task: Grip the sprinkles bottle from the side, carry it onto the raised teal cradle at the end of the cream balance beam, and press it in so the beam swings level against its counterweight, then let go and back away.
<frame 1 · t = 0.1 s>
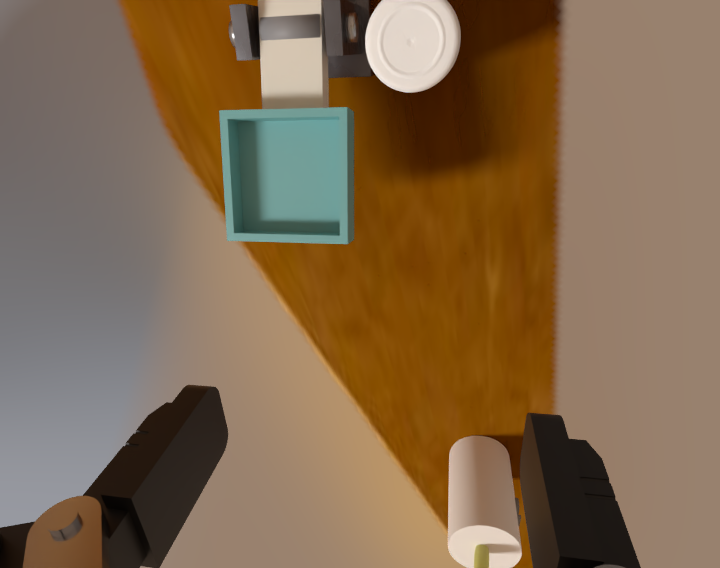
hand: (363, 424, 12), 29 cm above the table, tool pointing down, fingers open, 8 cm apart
sprinkles bottle: (427, 43, 34), on the table
beam: (283, 21, 28), point 8 cm above the table, hinge at -14.0°
candle: (480, 456, 51), on the table
pivot stand: (318, 33, 35), on the table
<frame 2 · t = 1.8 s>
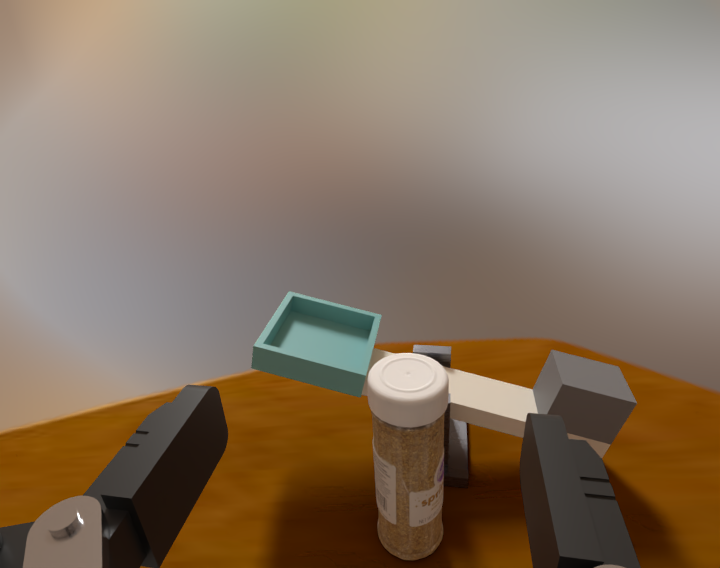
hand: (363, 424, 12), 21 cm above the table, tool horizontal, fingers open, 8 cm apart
sprinkles bottle: (409, 532, 32), on the table
beam: (436, 368, 35), point 8 cm above the table, hinge at -14.0°
pivot stand: (429, 444, 39), on the table
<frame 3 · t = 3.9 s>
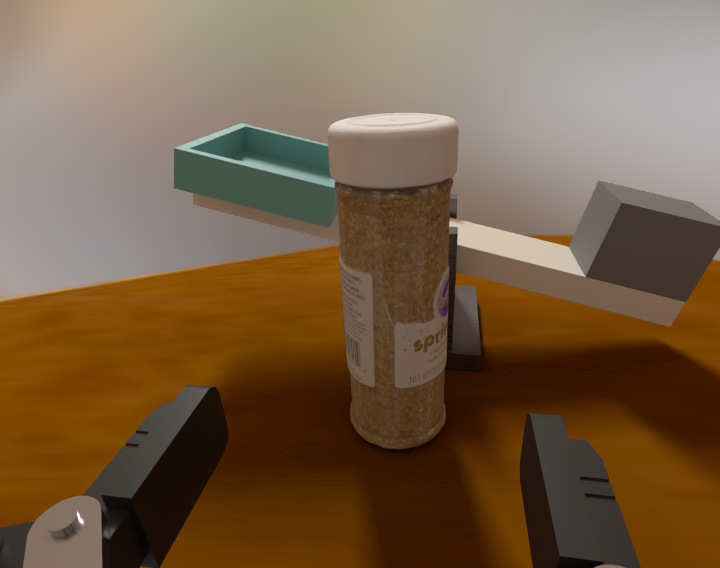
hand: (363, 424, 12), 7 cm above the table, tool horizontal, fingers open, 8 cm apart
sprinkles bottle: (397, 420, 22), on the table
beam: (438, 205, 25), point 8 cm above the table, hinge at -14.0°
pivot stand: (427, 328, 29), on the table
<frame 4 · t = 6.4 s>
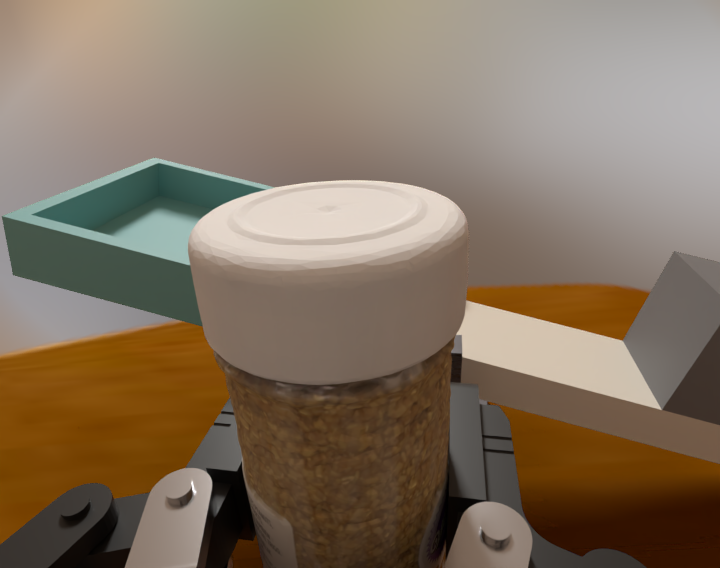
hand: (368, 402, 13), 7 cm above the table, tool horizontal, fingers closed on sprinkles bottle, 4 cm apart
beam: (431, 289, 17), point 8 cm above the table, hinge at -14.0°
pivot stand: (417, 448, 20), on the table
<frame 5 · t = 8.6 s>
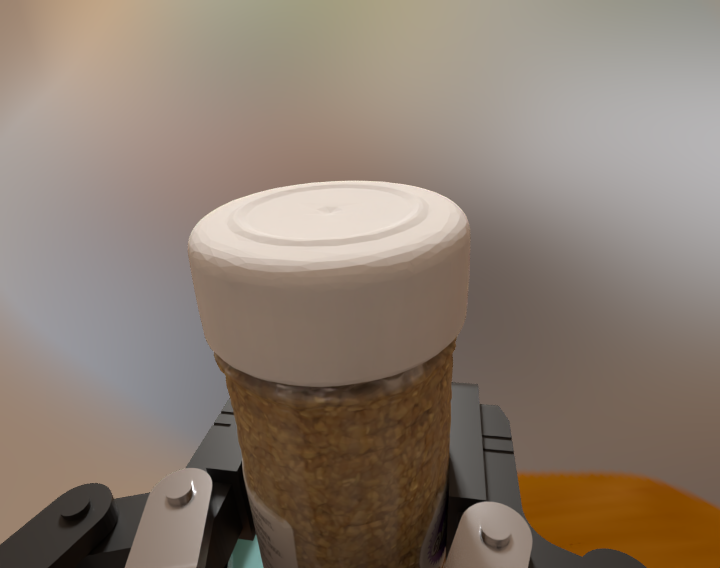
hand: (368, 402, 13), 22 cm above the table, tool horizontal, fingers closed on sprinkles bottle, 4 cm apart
when the fingers open (15 cm above the table, at t = 11.3 s): sprinkles bottle stays where it is, resting on beam.
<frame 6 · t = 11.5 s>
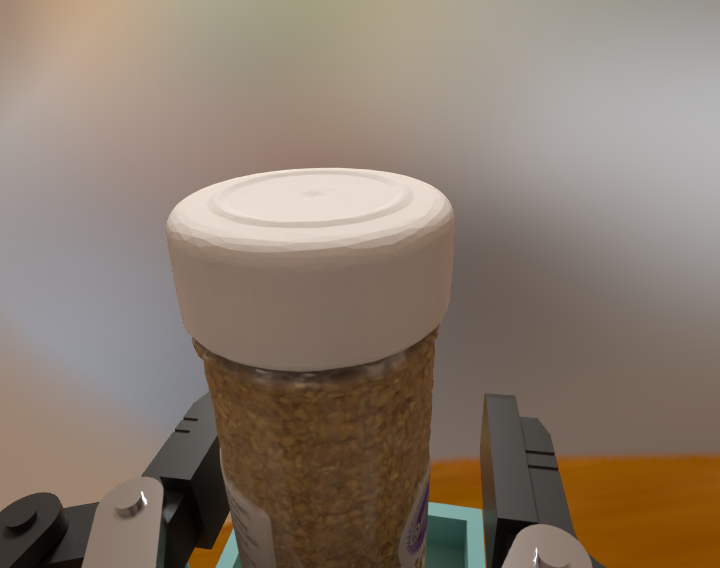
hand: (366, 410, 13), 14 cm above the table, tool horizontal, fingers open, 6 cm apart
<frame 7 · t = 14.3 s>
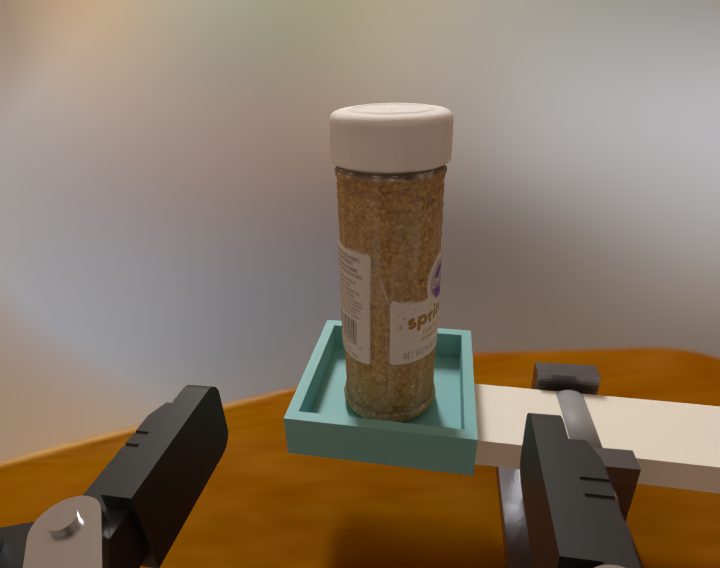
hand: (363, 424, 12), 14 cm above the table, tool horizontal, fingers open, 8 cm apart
sprinkles bottle: (388, 397, 23), point 7 cm above the table, touching beam
beam: (582, 401, 22), point 8 cm above the table, hinge at -1.9°, touching sprinkles bottle
pivot stand: (557, 515, 25), on the table
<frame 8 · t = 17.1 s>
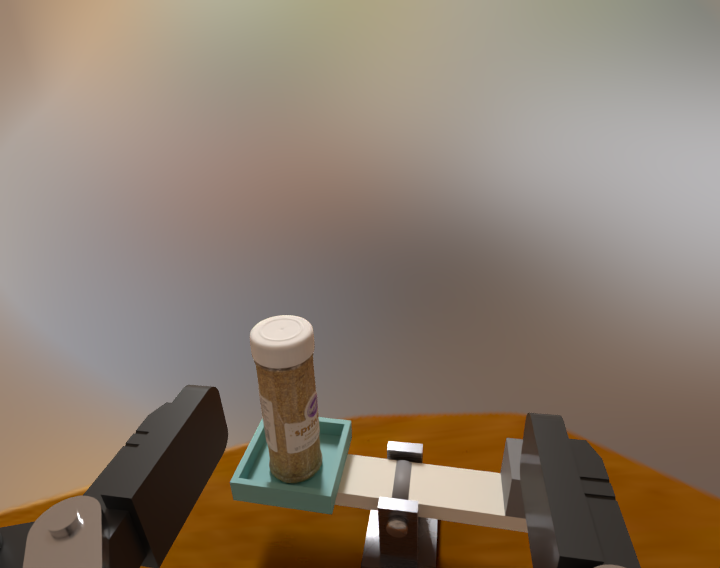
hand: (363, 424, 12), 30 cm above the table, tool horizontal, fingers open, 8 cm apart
sprinkles bottle: (296, 464, 40), point 7 cm above the table, touching beam
beam: (402, 470, 38), point 8 cm above the table, hinge at -1.9°, touching sprinkles bottle
pivot stand: (402, 533, 42), on the table
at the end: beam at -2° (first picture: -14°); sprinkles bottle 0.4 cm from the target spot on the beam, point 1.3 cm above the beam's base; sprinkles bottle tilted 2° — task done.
